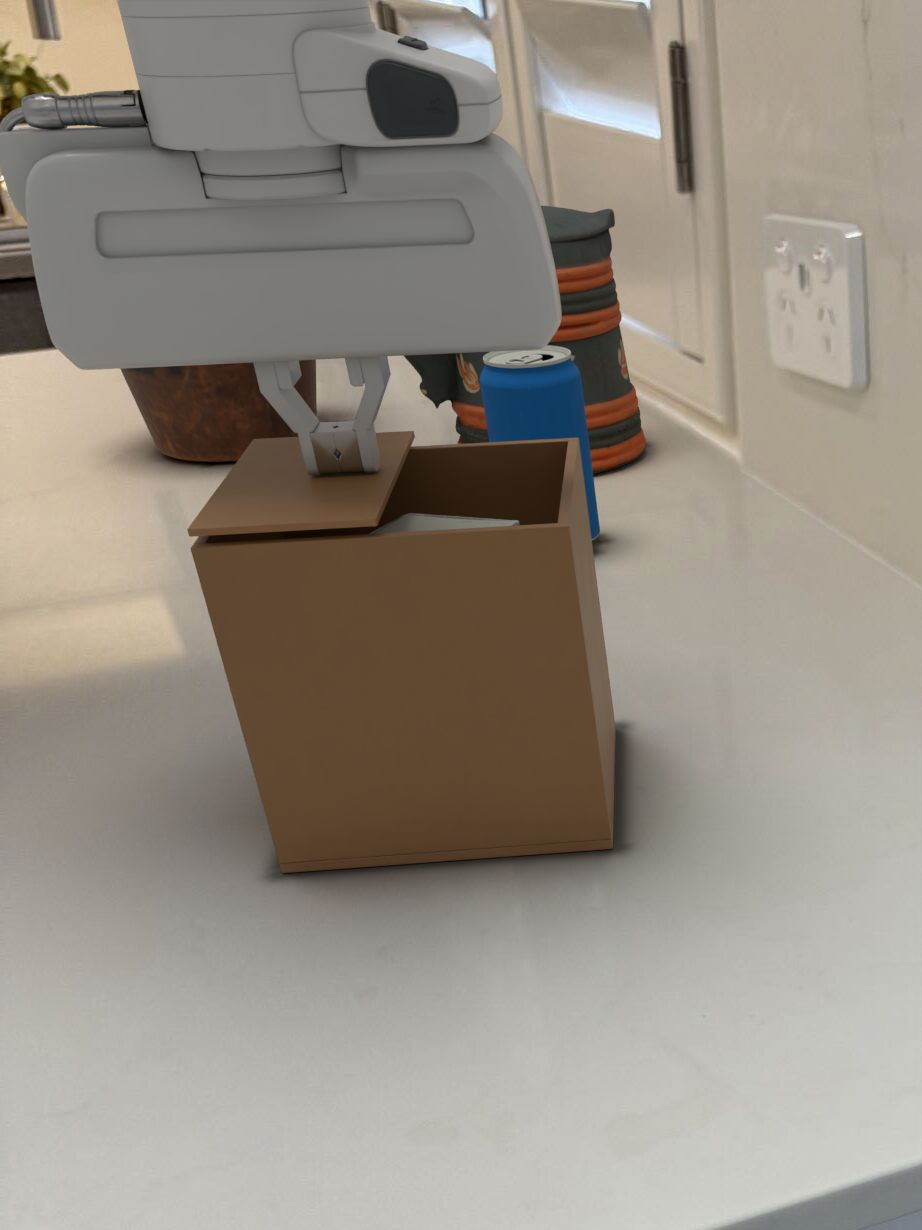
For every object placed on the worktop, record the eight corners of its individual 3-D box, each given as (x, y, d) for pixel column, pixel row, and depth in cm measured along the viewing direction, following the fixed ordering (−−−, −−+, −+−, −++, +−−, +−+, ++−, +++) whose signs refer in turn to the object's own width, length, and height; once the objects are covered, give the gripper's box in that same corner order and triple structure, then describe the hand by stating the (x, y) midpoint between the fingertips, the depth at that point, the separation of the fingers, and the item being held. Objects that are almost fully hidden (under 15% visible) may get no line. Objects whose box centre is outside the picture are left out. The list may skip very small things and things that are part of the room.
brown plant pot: (388, 413, 139) (341, 176, 128) (303, 477, 123) (241, 213, 112) (195, 413, 141) (133, 179, 130) (87, 476, 125) (5, 216, 114)
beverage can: (620, 540, 109) (598, 349, 102) (556, 567, 105) (528, 370, 97) (552, 526, 112) (525, 340, 104) (487, 551, 108) (454, 359, 100)
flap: (189, 536, 62) (186, 529, 62) (254, 445, 73) (253, 438, 73) (377, 526, 63) (375, 518, 63) (415, 437, 74) (413, 430, 74)
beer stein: (418, 498, 118) (359, 188, 106) (398, 450, 129) (342, 164, 117) (664, 469, 123) (635, 169, 111) (624, 425, 134) (594, 148, 122)
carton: (281, 873, 72) (189, 547, 63) (328, 747, 83) (255, 454, 74) (612, 849, 73) (569, 525, 64) (615, 727, 84) (578, 437, 75)
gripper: (-51, 102, 56) (77, 504, 65) (526, 83, 58) (576, 478, 66) (5, 88, 61) (117, 463, 70) (535, 70, 63) (581, 440, 71)
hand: (345, 470), depth 68 cm, fingers closed
